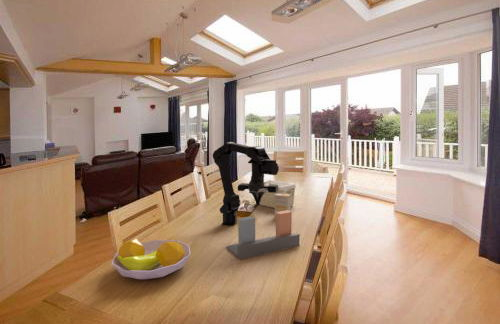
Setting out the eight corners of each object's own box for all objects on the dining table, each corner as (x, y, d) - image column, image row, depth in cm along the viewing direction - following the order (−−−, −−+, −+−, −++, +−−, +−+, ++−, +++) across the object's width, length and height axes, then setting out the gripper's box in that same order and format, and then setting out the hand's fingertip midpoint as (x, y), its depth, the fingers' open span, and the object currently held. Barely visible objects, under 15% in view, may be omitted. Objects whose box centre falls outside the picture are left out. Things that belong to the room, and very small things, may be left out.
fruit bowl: (162, 248, 124) (161, 222, 123) (206, 266, 107) (205, 236, 105) (93, 274, 102) (90, 242, 101) (134, 302, 85) (132, 265, 84)
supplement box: (291, 217, 165) (291, 194, 163) (287, 219, 161) (287, 196, 159) (278, 215, 169) (278, 192, 168) (274, 217, 165) (274, 194, 164)
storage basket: (252, 204, 195) (252, 182, 193) (268, 199, 206) (268, 179, 204) (281, 211, 178) (281, 187, 176) (296, 205, 190) (296, 183, 188)
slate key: (238, 249, 118) (237, 218, 117) (251, 246, 121) (251, 216, 119) (241, 252, 115) (241, 220, 114) (255, 249, 118) (255, 218, 116)
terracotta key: (275, 241, 126) (275, 212, 125) (286, 238, 129) (286, 210, 128) (279, 244, 123) (279, 214, 122) (291, 241, 126) (291, 212, 125)
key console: (226, 247, 123) (226, 236, 123) (282, 236, 136) (282, 225, 136) (239, 259, 112) (239, 247, 111) (299, 245, 125) (299, 234, 124)
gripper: (233, 175, 134) (233, 208, 136) (273, 176, 129) (273, 211, 130) (241, 171, 145) (241, 202, 146) (278, 172, 139) (278, 205, 141)
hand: (258, 205), depth 141 cm, fingers closed
